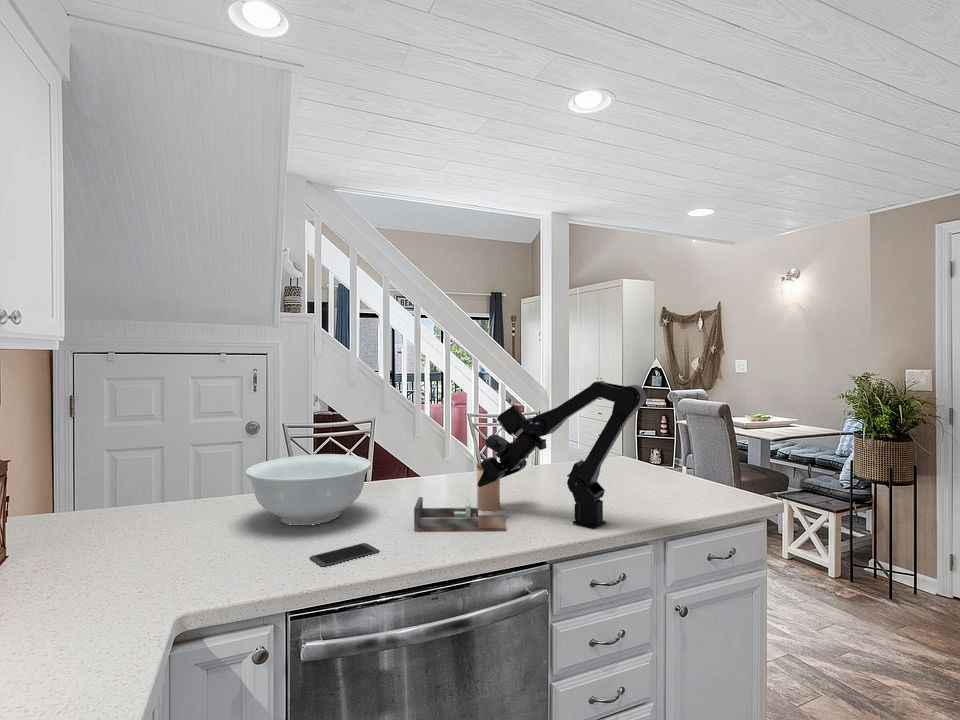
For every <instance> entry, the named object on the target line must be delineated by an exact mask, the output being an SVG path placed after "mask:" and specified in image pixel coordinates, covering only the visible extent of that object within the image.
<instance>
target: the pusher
mask: <svg viewBox="0 0 960 720" xmlns="http://www.w3.org/2000/svg"><path fill="white" fill-rule="evenodd" d="M471 506H472V505H471V498H466V499H465V507H464V508H465V511H463V512H454V518H467V517H471V508H472V507H471Z"/></svg>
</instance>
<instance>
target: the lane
mask: <svg viewBox="0 0 960 720" xmlns="http://www.w3.org/2000/svg"><path fill="white" fill-rule="evenodd" d="M423 502H424V498H423V496H419V497H418V498H417V501H416V503H415V505H414V508H413V514H414V515H413V518H414V519H413V522H414V523H413V524H414V525H413V526H414V528H413V531H424V532H506V531H507V525H506V520H505V519H506V518H505V515H504V514H479V510H478V508H477V507H471V517H467V518H454V512H463V511H465V507H424V505H423Z"/></svg>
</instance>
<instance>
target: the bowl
mask: <svg viewBox="0 0 960 720" xmlns="http://www.w3.org/2000/svg"><path fill="white" fill-rule="evenodd" d="M371 466H372V464H371V461H370V460H368V459H367V458H365V457H362V456H358V455H351V454H342V453H341V454H338V453H336V454H335V453H321V454H320V453H319V454H316V453H315V454H305V455H296V456H295V455H294V456H287V457H281V458H274V459H272V460H267V461H262V462H260V463H256V464H254V465H251V466H249V467H248V468H247V469H246V470H245V475H246V477H247V478H248V479H249V480H250V482H251V485H252V489H253V493H254V496H255V499H256V501H257V502H258V504H259V505H260V506H261V507H262V508H263V509H264V510H265V511H267V512H269V513H271V514H274V515H276V516H277V517H280V521H281V523H283V522H284V523H286V524H291V525H312V524H319V523H324V522H327V523H329V522H328V521H330V522H332V521H331V520H333V519H335V520H337V519H338V518H339V517H340V516H341V511H342V510H344V509H346V508H348V507H349V506H351V505H352V504H353V503H355V502H356V500H357V499H358V498H359V496H361V493H362V491H363V488H364V483H365V480H366V474H367V472H368V471H369V470H370V469H371ZM339 515H340V516H339ZM337 517H338V518H337ZM336 518H337V519H336ZM333 521H334V520H333ZM284 523H283V524H284ZM286 524H285V525H286ZM324 524H325V523H324ZM319 525H320V524H319ZM312 526H313V525H312Z"/></svg>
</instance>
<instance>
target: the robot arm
mask: <svg viewBox="0 0 960 720" xmlns="http://www.w3.org/2000/svg"><path fill="white" fill-rule="evenodd" d="M600 398H601V399H603V400H607V401H609V402H613V406H612V411H611V415H610V417H609V418H608V420H607V422H606V424H605V426H604V428H603V429H602V430H601V432H600V435H599V436H598V437H597V439H596V441H595V443H594V444H593V446H592V448H591V449H590V451H589V453H588V454H587V456H586V458H585V459H584V460H583V459H581V460H579V461H577V462H575V463H574V464H573V465H572V468H571V471H570V472H569V473H568V474H567V475H566V476H567V478H568V479H567V481H566V485H567V488H568V490H569V491H570V493H572V497H573V499H574V502H575V503H574V520H572V524H574V525H578V526H582V527H586V528H590V529H597V528H598V527H600V526H602V525H604V524H606V523H607V521H606V520H604V505H603V504H604V500H601V498H603V497H604V495H605V491H606V490H605V489H604V487H603V486H602V485H601V484H600V483H599V482H598V479H599V476H600V474H601V469H602V468H601V467H602V465H603V463H604V462H605V459H606V457H608V454H609V453H610V451H611V450H612V447H614V444H615V443H616V441H617V439H618V438H619V436H620V435H621V432H622V431H623V429H624V427H625V426H626V424H627V422H628V421H629V420H630V419H631V418H632V417H633V416H634V415H635V414H637V412H638V411H639V410H640V409H641V407H642V406H643V405H644V404H645V402H646V400H647V394H646V391H645V389H644V388H643V387H642V386H640V385H638V384H632V385H620V384H615V383H609V382H606V381H602V380H600V381H599V380H598V381H594V382H592V383H591V385H589V386H588V387H586V388H585V389H583V390H581V391H580V392H579V393H577V394H575V395H574V396H572V397H571V398H569V399H568V400H566V401H565V402H563V403H562V404H561V405H559V406H557V407H554V408H552V409H550V410H547V411H544V412H542V413H539V414H537V415H535V416H533V417H529V418H526V416H525V415H524V414H523V413H522V412H521V410H520V409H519V407H518V406H517V405H516V404H513V405H511V406H510V407H509V408H507V409H505V411H503V412H501V413H500V414H499V415H498V416H497V419H496V420H497V422H498V423H499V424H500V426H501V427H502V428H503V429H504V430H505V431H506V433H507V434H508V435H509V436H511V435H513V436H516V437H515V438H514V439H513V441H511V442H509V441H508V440H507V439H506V438H504V437H502V436H501V435H499V434H495V433H494V434H490V435H489V436H488V437H487V438H486V439H485V440H484V442H485V447H486V448H488V449H490V450H492V451H494V452H495V453H496V454H495V456H496V457H497V458H498V460H499V461H498V460H497V458H495V457H493V456H490V457H486V458H484V459H483V460H481V461H482V462H481V461H480V462H481V463H480V464H481V466H482V468H483V473H482V476H481V478H480V480H479V482H478V484H477V485H478V486H479V487H482V486H484V485H487V484H490V483H492V482H495V481H497V480H499V479H500V480H501V479H503V478H506V477H508V476H511V475H513V474H515V473H518V472H520V471H522V470H524V469H525V468H526V467H527V464H528V463H527V459H528V458H529V457H530V456H529V455H530V454H531V453H532V452H533V451H534V450H535V449H536V448H538V450H540V451H543V450H545V449H547V439H546V438H541V437H546V436H548V435H550V434H553V433H555V432H556V431H557V430H559V428H560V427H561V426H562V425H563V424H564V423H565V421H567V420H568V419H569V418H570V417H572V416H574V415H575V414H576V413H578V412H579V411H581V410H583V409H585V408H586V407H588V406H589V405H591V404H592V403H594V402H596V401H597V400H598V399H600Z"/></svg>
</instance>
